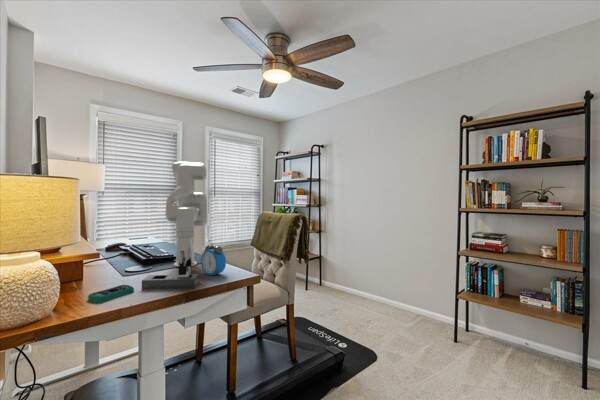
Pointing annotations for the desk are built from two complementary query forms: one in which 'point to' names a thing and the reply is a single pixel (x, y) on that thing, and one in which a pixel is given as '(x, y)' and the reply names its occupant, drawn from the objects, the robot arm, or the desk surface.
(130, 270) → the desk surface
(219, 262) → the alarm clock
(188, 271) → the white green box
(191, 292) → the desk surface
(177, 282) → the rail
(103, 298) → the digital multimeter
